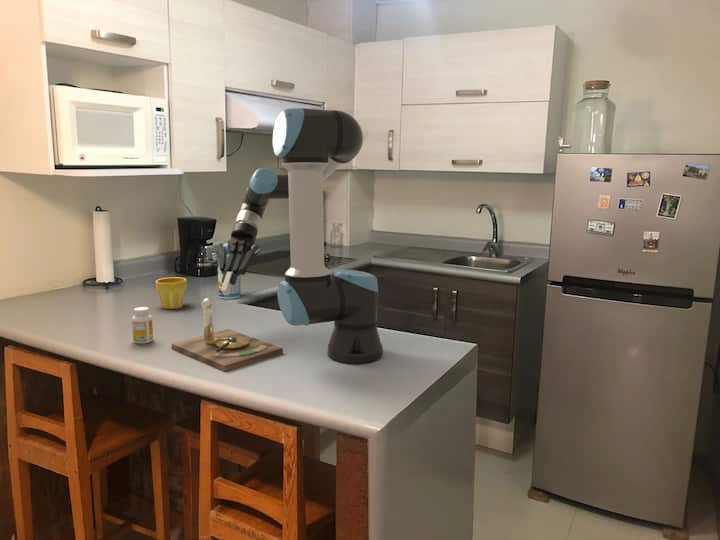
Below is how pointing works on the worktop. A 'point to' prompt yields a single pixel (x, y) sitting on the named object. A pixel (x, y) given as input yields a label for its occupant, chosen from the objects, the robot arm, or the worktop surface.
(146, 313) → the supplement bottle
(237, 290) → the beverage bottle
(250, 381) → the worktop surface
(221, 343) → the dial
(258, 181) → the robot arm
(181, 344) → the gauge board
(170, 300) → the plant pot
